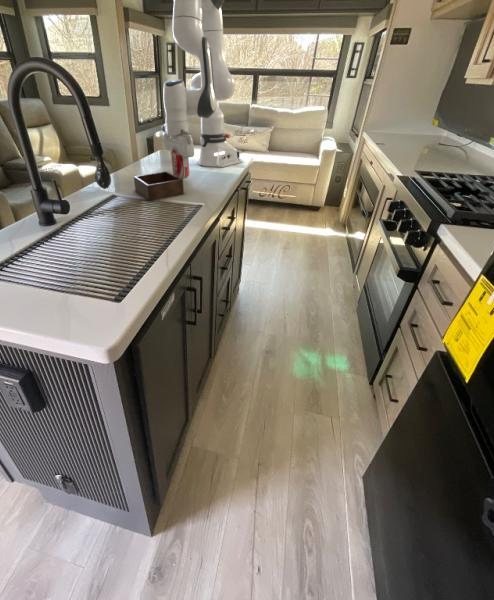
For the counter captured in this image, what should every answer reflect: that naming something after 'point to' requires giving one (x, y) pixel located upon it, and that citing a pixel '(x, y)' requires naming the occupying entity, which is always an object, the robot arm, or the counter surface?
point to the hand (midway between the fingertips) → (180, 164)
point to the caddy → (158, 185)
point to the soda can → (179, 165)
